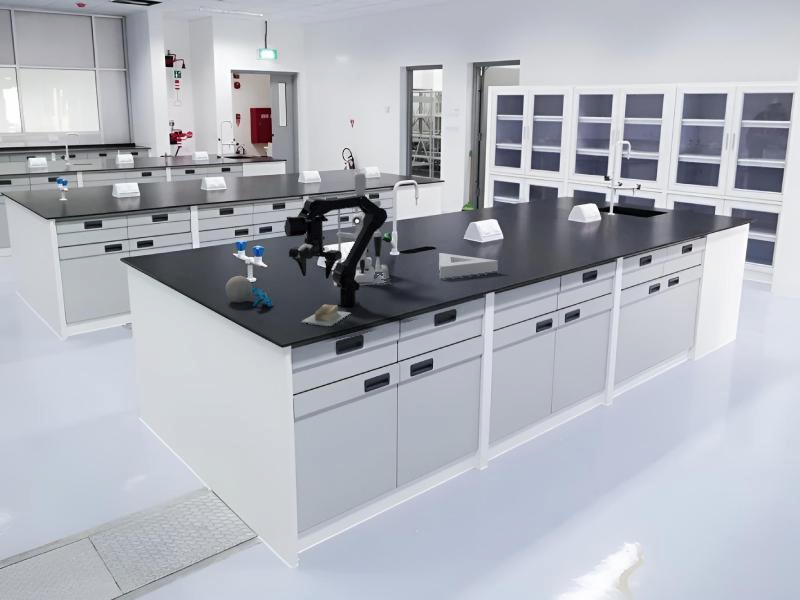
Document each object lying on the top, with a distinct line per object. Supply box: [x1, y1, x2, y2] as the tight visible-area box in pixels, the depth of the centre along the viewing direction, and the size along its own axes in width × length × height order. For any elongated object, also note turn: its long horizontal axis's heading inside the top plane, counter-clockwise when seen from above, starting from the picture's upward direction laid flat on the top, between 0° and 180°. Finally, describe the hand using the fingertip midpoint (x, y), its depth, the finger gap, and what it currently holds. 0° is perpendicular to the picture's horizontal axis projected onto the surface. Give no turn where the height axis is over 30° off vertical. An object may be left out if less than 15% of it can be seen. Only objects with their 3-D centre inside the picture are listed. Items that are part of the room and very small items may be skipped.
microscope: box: [331, 172, 390, 288], centre depth 294 cm, size 24×27×45 cm
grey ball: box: [225, 275, 254, 303], centre depth 261 cm, size 10×10×10 cm
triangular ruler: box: [438, 252, 499, 279], centre depth 312 cm, size 30×26×6 cm
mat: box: [301, 310, 352, 328], centre depth 243 cm, size 16×11×1 cm
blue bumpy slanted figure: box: [252, 285, 274, 308], centre depth 257 cm, size 11×6×10 cm
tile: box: [314, 303, 339, 321], centre depth 242 cm, size 5×10×3 cm, turn 169°
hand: (315, 277), depth 251 cm, fingers open, 9 cm apart
